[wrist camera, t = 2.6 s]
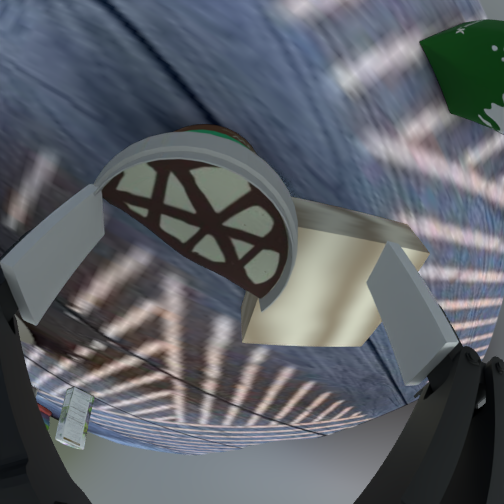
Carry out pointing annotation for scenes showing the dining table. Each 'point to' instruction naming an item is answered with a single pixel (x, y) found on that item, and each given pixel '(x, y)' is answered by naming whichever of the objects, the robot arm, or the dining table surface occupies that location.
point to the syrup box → (74, 418)
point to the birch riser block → (329, 280)
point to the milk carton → (471, 70)
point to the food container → (210, 204)
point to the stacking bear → (45, 415)
